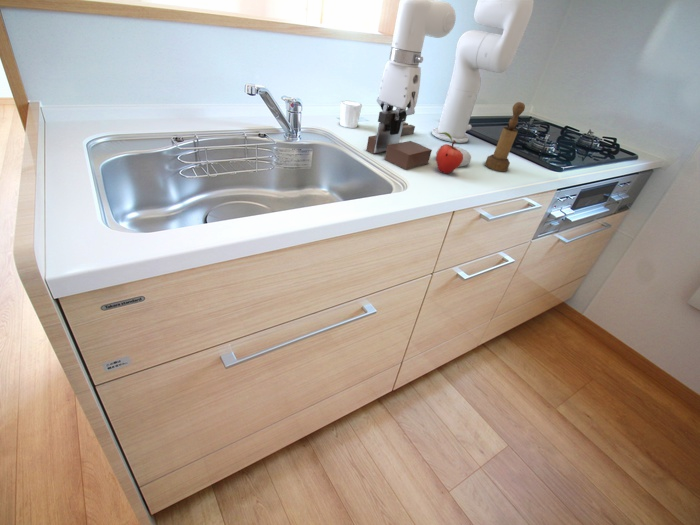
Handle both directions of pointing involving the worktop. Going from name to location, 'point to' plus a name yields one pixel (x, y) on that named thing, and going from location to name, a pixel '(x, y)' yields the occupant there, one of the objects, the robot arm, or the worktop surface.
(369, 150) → the brown rectangular bar
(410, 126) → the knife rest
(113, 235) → the worktop surface
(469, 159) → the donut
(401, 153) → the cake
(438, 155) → the apple
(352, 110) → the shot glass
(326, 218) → the worktop surface
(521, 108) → the mortar and pestle
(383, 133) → the dough scraper
